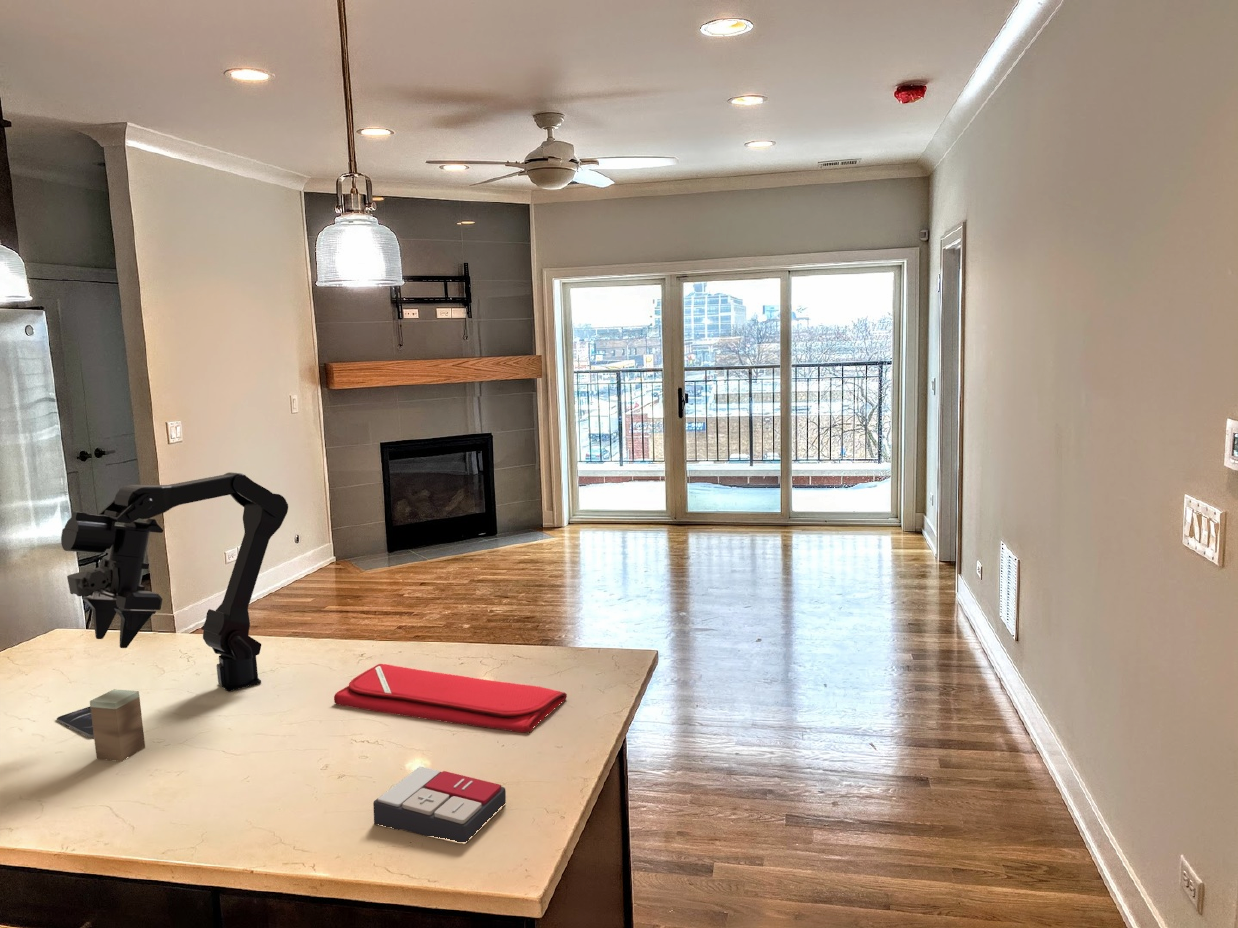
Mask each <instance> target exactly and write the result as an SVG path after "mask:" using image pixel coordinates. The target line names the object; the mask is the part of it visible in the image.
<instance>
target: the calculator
mask: <svg viewBox="0 0 1238 928" xmlns="http://www.w3.org/2000/svg"><path fill="white" fill-rule="evenodd" d="M506 792H507V791H506V788H505V787H504V786H502V785H501V784H498V783H495V782H491V781H487V780H483V779H480V778H475V777H470V776H466V775H462V774H460V773H459V774H458V773H455V772H450V771H445V770H443V771H440V770H437V769H433V768H429V767H424V766H419V767H417V768H416V769H414V770H412V772H411V773H409V774H408V775H407V776H405V777H403V778H402V779H401V780H400V781H398V782H397V783H396V784H395V785H393V786H392V787H391V788H389V789H388V790H387V791H385V792H384V793H383V794H381V795H380V796H379V797H378V798H376V799H375V800H374V801H373V825H375V824H379V825H383V826H386V827H385V828H387V827H392V828H394V829H393V830H395V829H398V830H397V831H399V830H402V831H405V830H406V832H409V833H413V834H417V835H421V836H423V835H424V837H427V836H434V837H438V838H439V837H440V838H445V839H446V838H447V839H450V840H455V841H457V842H466V841H468V840H469V838H470V837H471V836H473V835H474V834H475V833H476V831H477V830H479V829H480V828H481V827H482V825H483V824H484V823H485V822H487V820H488V819H489V818H491V817H492V816H493V814H494V813H495V812H497V811H498V809H499V808H500V807H501V806H503V805H504V804H505V803H506V804H507V802H506V801H507V800H506V798H507V796H506V795H507V794H506Z"/></svg>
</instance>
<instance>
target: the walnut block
mask: <svg viewBox="0 0 1238 928" xmlns="http://www.w3.org/2000/svg"><path fill="white" fill-rule="evenodd" d="M140 697H141V696H140V691H139V690H129V689H128V690H127V689H117V688H116V689H115V688H113V689H112V690H109V691H108V692H106V693H103V694H102V695H99V696H97V697H95V698H93V699H91V700H89V707H90V708H91V717H92V725H93V733H94V738H93V741H94V747H95V756H96V760H102V759H107V760H106V761H112V760H116V761H115V762H124V761H125V760H127V759H128V758H127V757H129V758H131V757H132V756H134V755H135V754H138V753H139V752H141V751H142V750H144V749H146V743H145V742H146V741H145V733H144V732H145V731H144V725H143V715H142V714H143V713H142V708H141V699H140ZM126 758H127V759H126ZM124 759H125V760H124ZM123 760H124V761H123Z"/></svg>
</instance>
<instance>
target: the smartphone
mask: <svg viewBox="0 0 1238 928" xmlns="http://www.w3.org/2000/svg"><path fill="white" fill-rule="evenodd" d="M56 722H57V723H60V724H61V725H63V726H65V727H67V728H69V727H70V728H69V729H72V730H73V731H74V732H77V733H79V734H81V735H83V736H85V737H86V736H87V737H86V738H88V739H94V733H93V725H92V717H91V708H90V706H86V707H85V708H82V709H78V710H75V711H72V712H68V713H65V714H63V715H60V716H57V717H56Z"/></svg>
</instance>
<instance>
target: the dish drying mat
mask: <svg viewBox="0 0 1238 928" xmlns="http://www.w3.org/2000/svg"><path fill="white" fill-rule="evenodd" d="M567 697H568V694H567V693H566V692H563V691H560V690H554V689H551V688H549V687H548V688H547V687H542V686H536V685H530V684H529V685H528V684H520V683H513V682H505V681H497V680H488V679H483V678H482V679H481V678H476V677H469V676H463V675H458V674H457V675H455V674H450V673H449V674H448V673H442V672H436V671H435V672H434V671H429V670H421V669H417V668H416V669H415V668H411V667H403V666H398V665H392V664H385V663H378V664H376V665H375V666H373V667H371V668H369V669H367V670H365V671H364V672H362V673H360V674H359V675H357V676H356V677H354V678H353V679H351V681H349V683H348V685H347V686H346V687H344V688H342V689H340V690H339V691H337V692H335V694H334V696H333V702H334V704H336V705H338V706H345V707H350V708H356V709H362V710H366V709H367V711H374V712H378V713H379V712H380V713H387V714H393V715H397V714H400V715H399V716H404V715H405V716H406V717H412V716H413V718H418V717H420V719H424V718H426V720H432V721H437V720H441V721H440V722H444V721H447V722H446V723H450V722H452V723H451V724H457V723H459V725H465V724H467V725H466V726H473V725H474V726H473V727H479V726H481V727H480V728H485V727H490V728H489V729H493V728H498V729H497V730H501V729H506V730H505V731H508V730H512V731H511V732H516V731H519V732H518V733H525V732H530V733H532V731H533V730H534V729H533V727H534V726H536V725H537V724H538V722H540V720H542V721H544V719H545V718H544V717H545V716H546V715H547V714H549V713H550V712H551V711H552V710H553V709H554V708H556V707H557V706H558V705H559V704H560V705H562V703H561V702H563V701H564V702H566V699H567ZM564 702H563V703H564ZM560 705H559V706H560ZM559 706H558V707H559ZM558 707H557V708H558ZM557 708H556V709H557ZM553 711H554V710H553ZM553 711H552V712H553ZM552 712H551V713H552ZM551 713H550V714H551ZM550 714H549V715H550ZM540 723H541V722H540ZM538 725H539V724H538ZM538 725H537V726H538ZM537 726H536V727H537ZM532 729H533V730H532ZM531 730H532V731H531Z"/></svg>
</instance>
